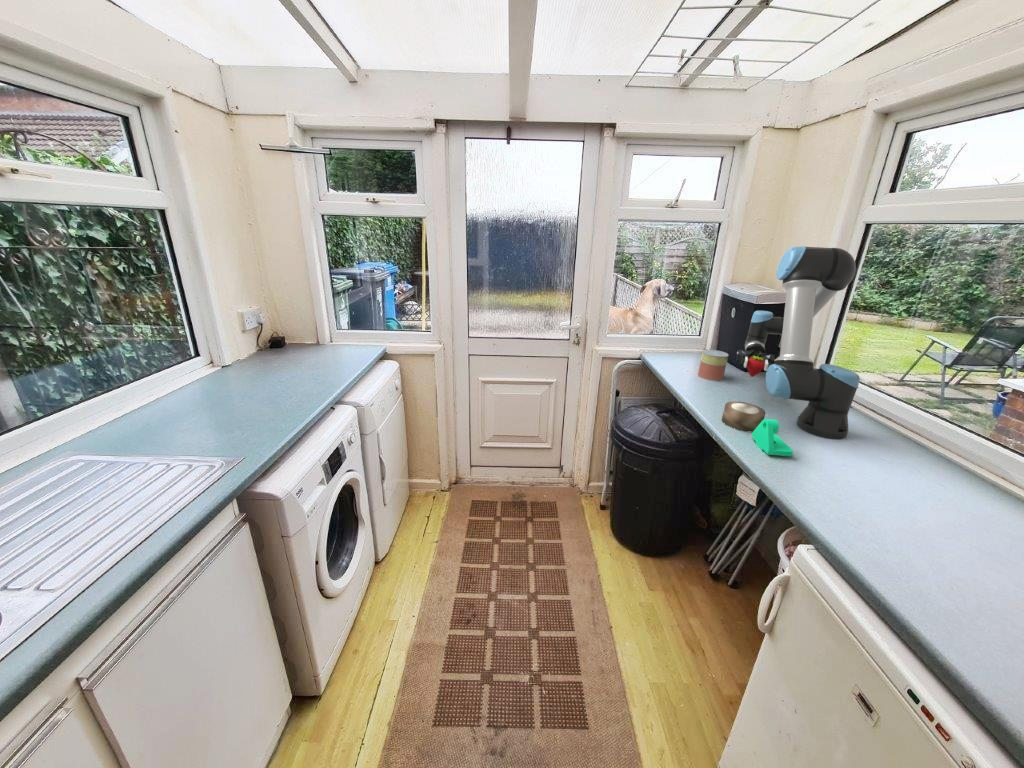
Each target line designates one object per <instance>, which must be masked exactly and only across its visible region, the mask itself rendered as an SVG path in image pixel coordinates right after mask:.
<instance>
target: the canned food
mask: <svg viewBox="0 0 1024 768" xmlns="http://www.w3.org/2000/svg"><path fill="white" fill-rule="evenodd" d="M729 356H730V354H729V353H727V352H725V351H721V350H718V349H717V350H715V349H704V350H702V354H701V359H700V364H699V367H698V372H697V377H699V378H701V379H703V380H705V381H710V382H721V381H723V380H724V376H725V371H726V367H727V364H728V359H729Z"/></svg>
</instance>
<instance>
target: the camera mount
mask: <svg viewBox="0 0 1024 768" xmlns="http://www.w3.org/2000/svg"><path fill="white" fill-rule="evenodd" d="M779 430H780V424H779V421H778V420H777V419H769V418H764V419H763V420H762V422H761V423H760V424H759V425H758V426H757V428H756V429H755V430H754V431H753V432H751V437H752V439H753V440H754V441H755V446H757V448H758V449H759V448H760V449H761V450H762V451H761V450H760V449H759V450H760V451H761V452H765V453H766V454H767V455H770V456H784V457H793V453H794V449H792V448H791V446H789V445H788V444H787V443H786V442H785V441H784V440H783V439H782V438H781V437H780V436H779V435H778V434H777V433H778V432H779Z"/></svg>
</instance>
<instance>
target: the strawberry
mask: <svg viewBox="0 0 1024 768" xmlns="http://www.w3.org/2000/svg"><path fill="white" fill-rule="evenodd" d="M763 359H766V358H761V357H760V358H759V357H758V356H753V357H751V358H749V359H748V362H747V366H746V369H747V372H748V374H749V376H750V377H752V378H753V377H755V376H756V375H758V374H759V373H761V372H762V371H763V370H764V365H765V363H764V361H763Z"/></svg>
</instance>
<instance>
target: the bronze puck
mask: <svg viewBox="0 0 1024 768" xmlns="http://www.w3.org/2000/svg"><path fill="white" fill-rule="evenodd" d="M722 412H723V414H722V416H721V422H722V423H723V424H724V423H725V424H724V425H726V426H727V425H728V426H727V427H729V426H730V427H729V428H731V427H732V429H734V428H735V429H734V430H737V429H738V430H737V431H741V430H743V431H742V432H747V431H754V430H755V429H756V428H757V426H758V425H759V424H760V423H761V422H762V420H763V419H765V416H766V411H765V409H763V408H762V407H760V406H758V405H755V404H752V403H748V402H744V401H734V400H733V401H728V402H726V403H725V405H724V407H723V411H722Z"/></svg>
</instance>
